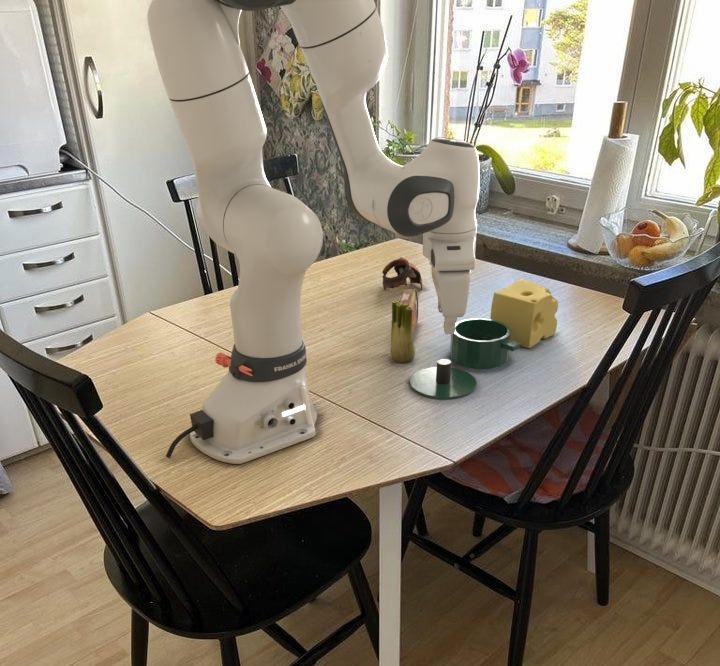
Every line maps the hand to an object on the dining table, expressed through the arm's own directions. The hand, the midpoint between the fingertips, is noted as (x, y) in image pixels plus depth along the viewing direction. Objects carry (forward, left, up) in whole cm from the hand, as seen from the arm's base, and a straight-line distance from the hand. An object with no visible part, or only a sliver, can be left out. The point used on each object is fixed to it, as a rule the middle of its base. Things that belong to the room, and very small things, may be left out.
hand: (446, 321), depth 128 cm
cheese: (+29, +2, -13) cm, 31 cm away
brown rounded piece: (+34, +40, -13) cm, 53 cm away
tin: (+14, +21, -13) cm, 28 cm away
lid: (0, 0, -12) cm, 12 cm away
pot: (+14, +2, -13) cm, 19 cm away
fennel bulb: (+3, +13, -13) cm, 18 cm away
